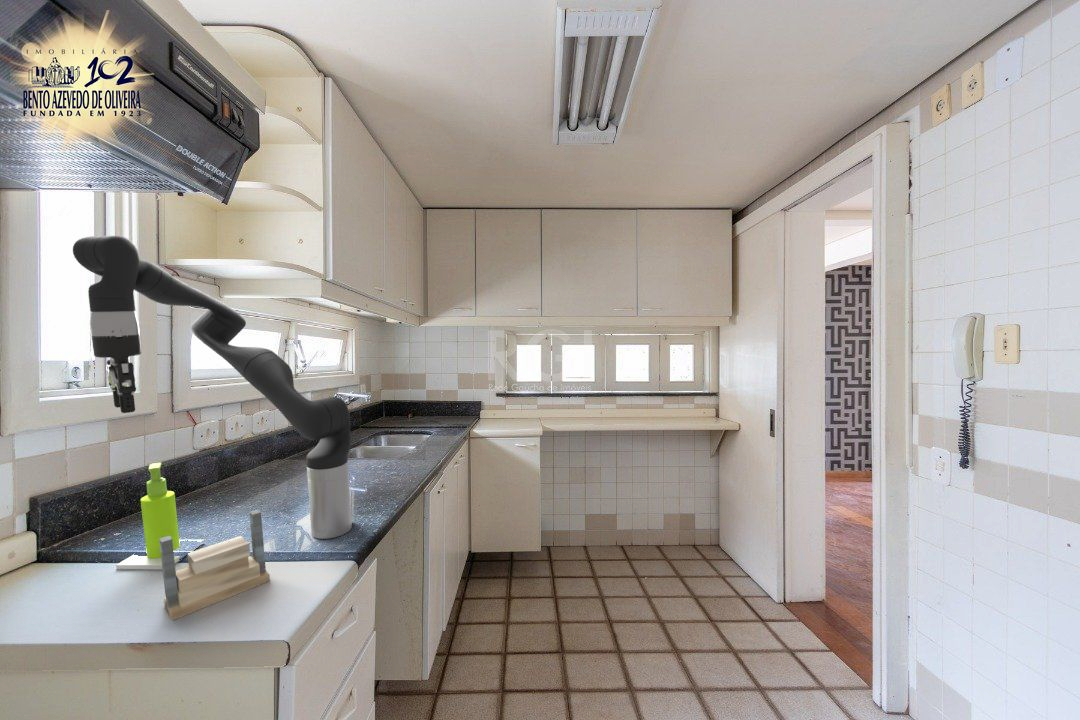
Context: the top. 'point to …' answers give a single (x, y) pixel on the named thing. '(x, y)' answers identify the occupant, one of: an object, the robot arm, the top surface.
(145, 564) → the pad
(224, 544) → the offcut rack
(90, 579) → the top surface
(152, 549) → the soap dispenser
